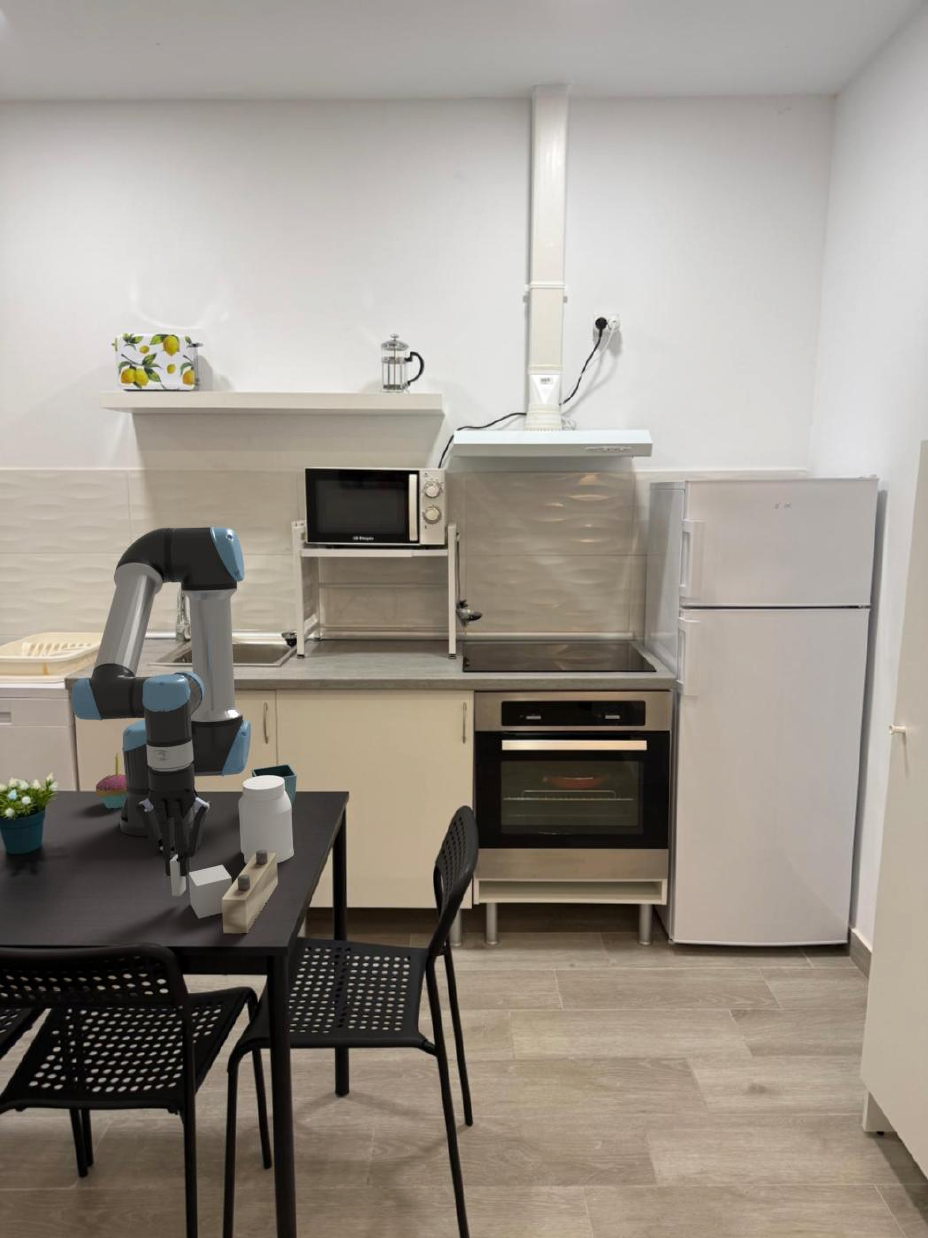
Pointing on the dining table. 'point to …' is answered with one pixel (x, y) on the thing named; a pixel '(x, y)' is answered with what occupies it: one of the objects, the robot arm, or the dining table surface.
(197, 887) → the white cube
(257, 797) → the jar
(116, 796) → the cupcake
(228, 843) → the dining table surface
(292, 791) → the flower pot
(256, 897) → the block
